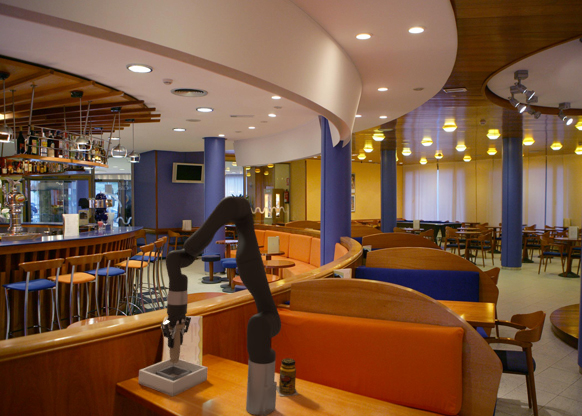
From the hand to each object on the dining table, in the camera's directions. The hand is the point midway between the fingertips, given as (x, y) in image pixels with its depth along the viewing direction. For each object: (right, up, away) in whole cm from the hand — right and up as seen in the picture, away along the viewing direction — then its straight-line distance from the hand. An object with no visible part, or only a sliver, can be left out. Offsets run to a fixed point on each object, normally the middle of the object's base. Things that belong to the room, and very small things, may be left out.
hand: (175, 345), depth 165 cm
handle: (0, -6, 0) cm, 6 cm away
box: (-1, -14, 0) cm, 14 cm away
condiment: (+43, -17, -2) cm, 46 cm away
